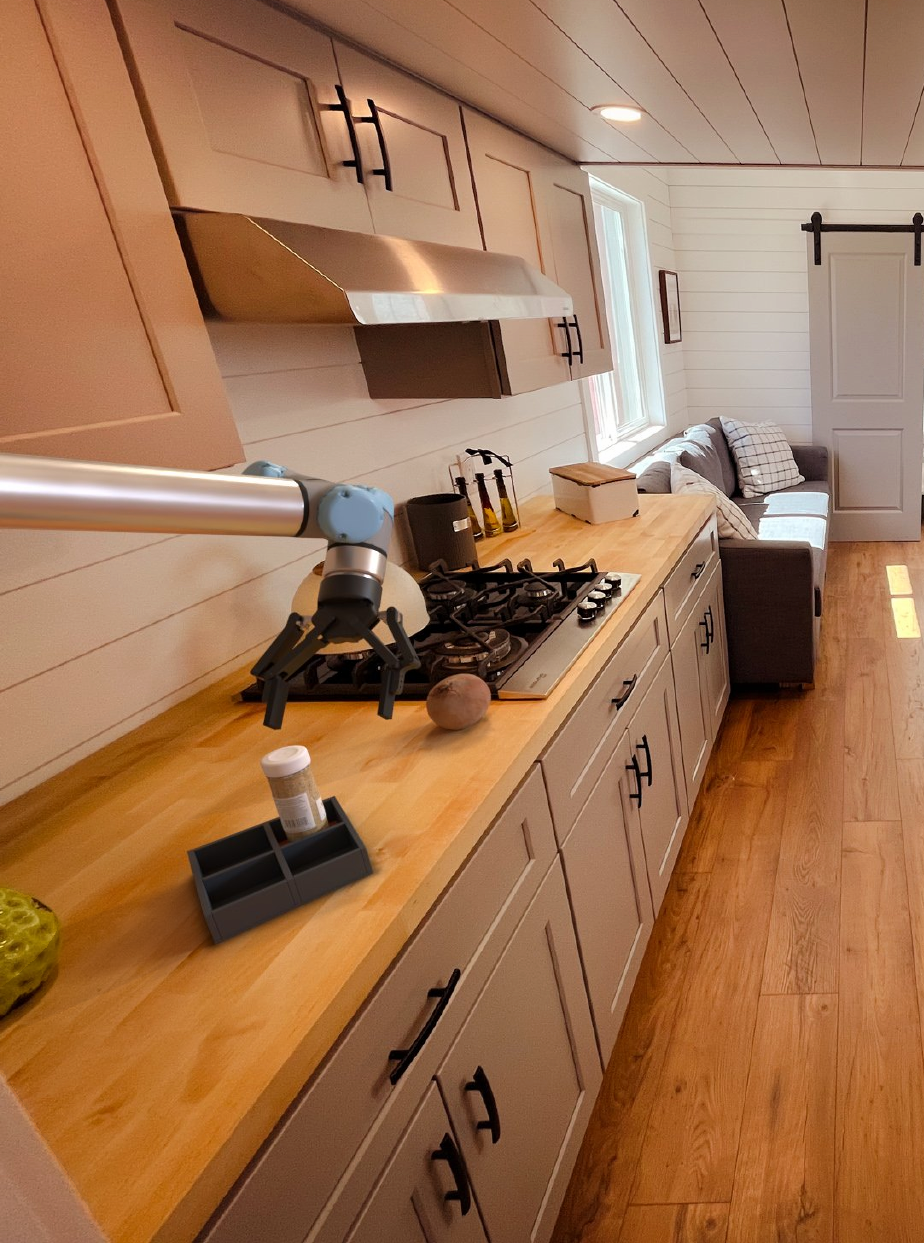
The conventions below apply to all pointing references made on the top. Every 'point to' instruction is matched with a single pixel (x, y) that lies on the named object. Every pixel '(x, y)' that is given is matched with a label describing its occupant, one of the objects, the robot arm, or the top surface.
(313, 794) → the spice jar
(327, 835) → the grid
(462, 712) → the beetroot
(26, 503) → the robot arm
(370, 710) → the top surface
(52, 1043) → the top surface
